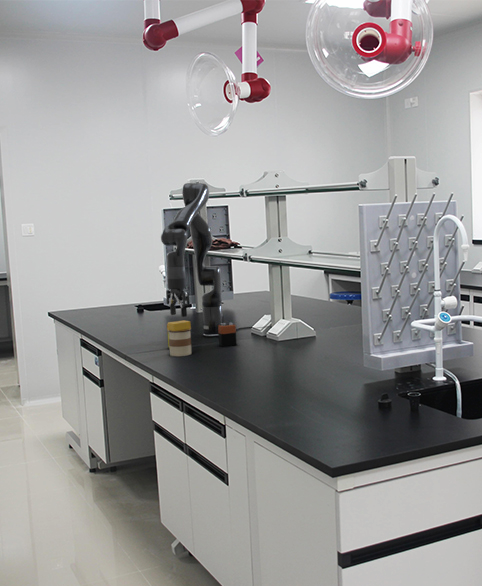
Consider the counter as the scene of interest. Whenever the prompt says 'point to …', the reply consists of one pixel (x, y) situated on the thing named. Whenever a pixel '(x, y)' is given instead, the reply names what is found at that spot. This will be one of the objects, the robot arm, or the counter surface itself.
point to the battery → (227, 334)
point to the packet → (179, 325)
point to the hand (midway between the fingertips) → (178, 315)
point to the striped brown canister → (180, 342)
